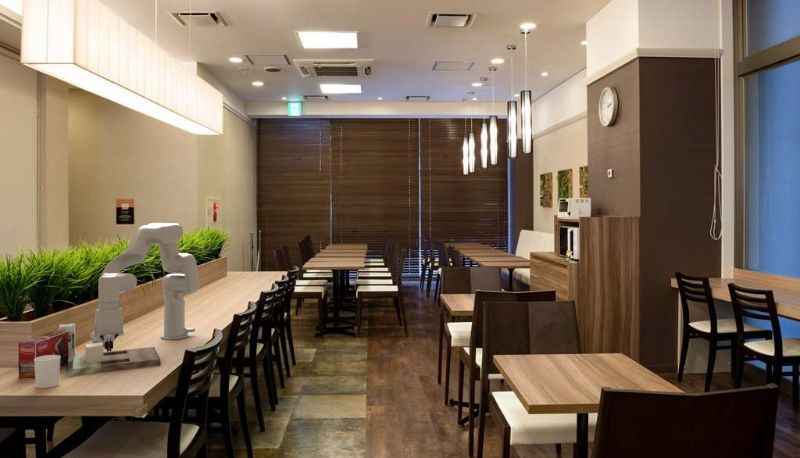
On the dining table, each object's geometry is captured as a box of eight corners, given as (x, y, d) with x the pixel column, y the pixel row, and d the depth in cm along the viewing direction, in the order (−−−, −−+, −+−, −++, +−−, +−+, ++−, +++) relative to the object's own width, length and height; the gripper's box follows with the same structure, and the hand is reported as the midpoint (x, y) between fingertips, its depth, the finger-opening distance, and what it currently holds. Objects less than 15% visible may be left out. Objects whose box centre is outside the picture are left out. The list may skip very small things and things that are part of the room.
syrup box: (58, 361, 223) (58, 326, 223) (59, 357, 229) (59, 323, 228) (74, 359, 226) (74, 325, 226) (75, 356, 231) (75, 322, 231)
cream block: (102, 357, 221) (102, 342, 221) (103, 360, 216) (103, 345, 216) (85, 359, 218) (85, 344, 218) (86, 362, 213) (86, 347, 213)
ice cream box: (36, 378, 200) (35, 343, 200) (18, 378, 200) (18, 342, 200) (68, 363, 220) (68, 331, 220) (52, 363, 220) (52, 331, 220)
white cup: (42, 382, 196) (42, 355, 195) (65, 382, 196) (64, 354, 196) (29, 389, 188) (29, 360, 187) (53, 389, 188) (52, 360, 188)
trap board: (154, 352, 239) (154, 340, 239) (160, 365, 219) (160, 351, 219) (69, 361, 223) (69, 348, 223) (68, 376, 203) (68, 361, 203)
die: (96, 348, 247) (110, 331, 250) (82, 338, 248) (96, 321, 251) (105, 351, 255) (119, 333, 257) (91, 341, 256) (105, 324, 259)
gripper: (128, 303, 226) (128, 346, 227) (87, 305, 219) (87, 350, 219) (130, 305, 220) (130, 350, 220) (88, 308, 212) (87, 354, 213)
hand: (108, 350), depth 220 cm, fingers closed
